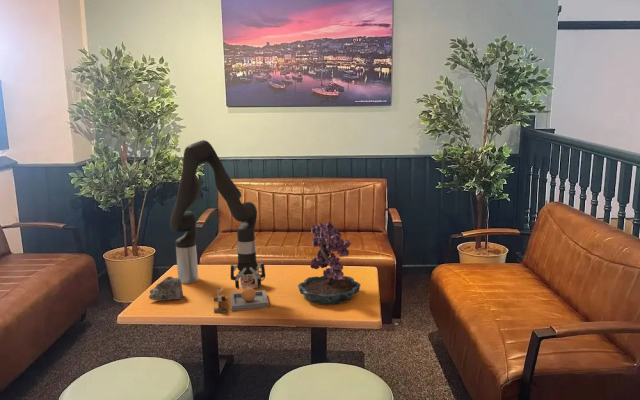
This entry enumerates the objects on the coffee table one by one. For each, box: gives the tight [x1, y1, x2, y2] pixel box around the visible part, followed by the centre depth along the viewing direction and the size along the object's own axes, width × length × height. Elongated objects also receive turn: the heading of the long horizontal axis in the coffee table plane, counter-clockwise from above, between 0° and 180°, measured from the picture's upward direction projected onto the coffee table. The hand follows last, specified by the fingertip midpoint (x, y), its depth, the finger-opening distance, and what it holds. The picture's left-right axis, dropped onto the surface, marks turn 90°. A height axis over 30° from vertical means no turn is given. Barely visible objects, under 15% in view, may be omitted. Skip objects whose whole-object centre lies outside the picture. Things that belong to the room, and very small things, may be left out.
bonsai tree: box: [297, 221, 361, 306], centre depth 234 cm, size 35×27×32 cm
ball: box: [241, 287, 256, 302], centre depth 229 cm, size 6×6×6 cm
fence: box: [213, 286, 228, 314], centre depth 227 cm, size 16×5×5 cm, turn 11°
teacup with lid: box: [239, 266, 266, 289], centre depth 248 cm, size 12×9×12 cm
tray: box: [229, 289, 270, 312], centre depth 229 cm, size 15×15×2 cm
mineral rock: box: [148, 276, 184, 301], centre depth 235 cm, size 13×11×10 cm
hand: (248, 287), depth 229 cm, fingers open, 8 cm apart
